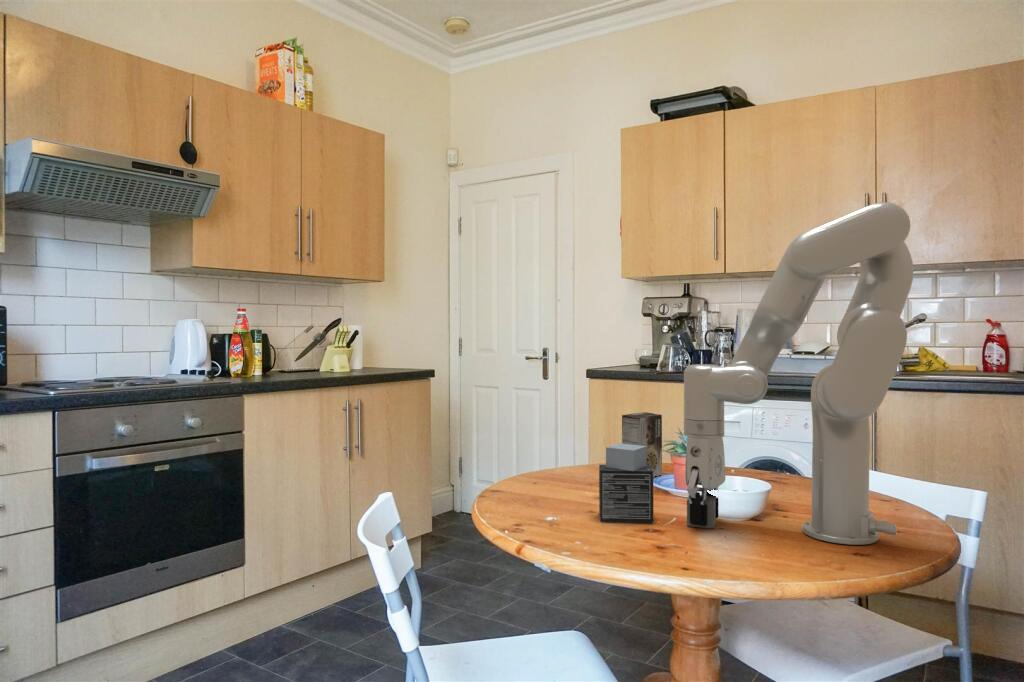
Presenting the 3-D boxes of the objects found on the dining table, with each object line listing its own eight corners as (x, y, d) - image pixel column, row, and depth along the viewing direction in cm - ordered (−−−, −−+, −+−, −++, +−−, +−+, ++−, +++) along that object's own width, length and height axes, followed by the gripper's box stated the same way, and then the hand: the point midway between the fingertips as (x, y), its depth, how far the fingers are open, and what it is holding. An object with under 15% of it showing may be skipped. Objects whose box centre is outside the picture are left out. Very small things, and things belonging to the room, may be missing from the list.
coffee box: (643, 472, 181) (643, 411, 181) (662, 476, 176) (663, 414, 176) (620, 476, 175) (620, 414, 175) (639, 480, 170) (640, 416, 170)
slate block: (646, 466, 136) (646, 446, 136) (633, 471, 131) (633, 450, 131) (619, 462, 139) (619, 443, 139) (605, 467, 135) (605, 447, 135)
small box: (650, 515, 138) (651, 464, 138) (654, 524, 132) (654, 470, 132) (598, 513, 139) (599, 462, 139) (599, 522, 133) (599, 469, 133)
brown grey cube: (686, 526, 130) (686, 500, 130) (689, 519, 135) (689, 494, 135) (714, 528, 128) (713, 502, 128) (715, 521, 133) (715, 496, 133)
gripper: (708, 435, 122) (708, 535, 122) (737, 424, 136) (737, 514, 136) (668, 431, 126) (669, 528, 127) (700, 421, 140) (700, 508, 141)
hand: (704, 519), depth 131 cm, fingers closed on brown grey cube, 5 cm apart
